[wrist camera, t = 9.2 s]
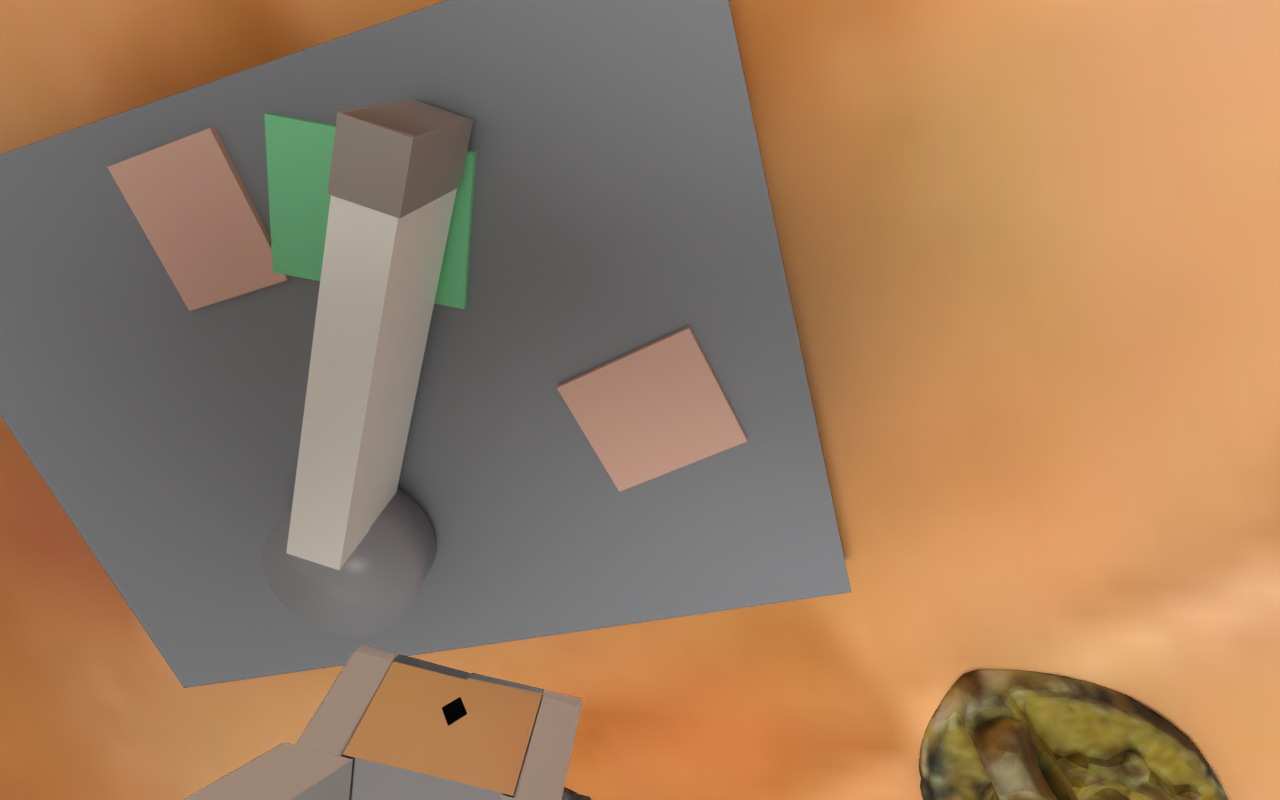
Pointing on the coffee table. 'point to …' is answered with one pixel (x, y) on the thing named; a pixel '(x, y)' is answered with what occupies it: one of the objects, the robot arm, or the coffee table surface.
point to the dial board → (430, 336)
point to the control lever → (369, 371)
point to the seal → (1055, 744)
